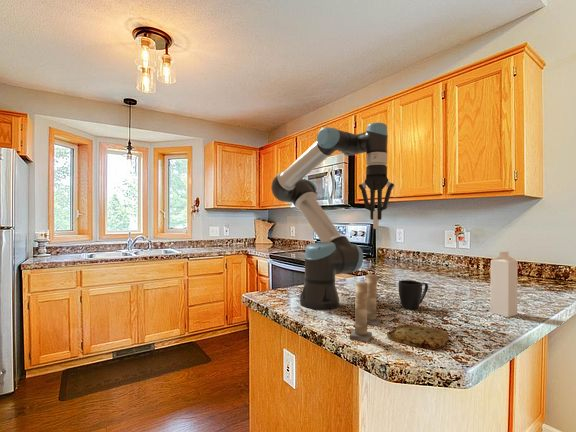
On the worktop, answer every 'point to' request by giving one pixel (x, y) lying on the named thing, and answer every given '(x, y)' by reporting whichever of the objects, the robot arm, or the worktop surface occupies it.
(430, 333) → the pastry
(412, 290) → the mug
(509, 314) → the milk
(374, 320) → the post
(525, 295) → the worktop surface
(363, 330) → the post
